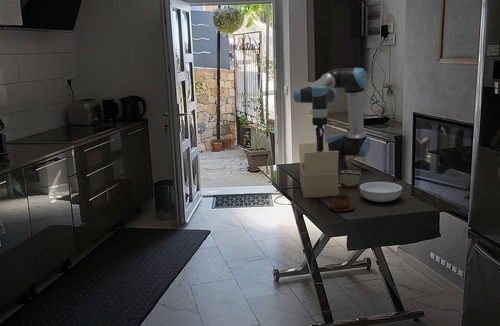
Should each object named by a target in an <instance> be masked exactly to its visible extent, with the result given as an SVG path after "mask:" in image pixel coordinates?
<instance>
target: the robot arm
mask: <svg viewBox="0 0 500 326" xmlns="http://www.w3.org/2000/svg"><path fill="white" fill-rule="evenodd" d="M368 78H369V77H368V74H367V72H366V70H365V69H364V68H363V67H346V68H344V67H343V68H342V67H341V68H334V69H332V70H330V71H327V72H326V73H324V74H322V75H321V77H320V78H318V79H317V80H315V81H314V82H311V83H310V84H309V85H307V86H305V87H304V88H301V87H300V88H296V89H295V90H294V91H293V96H292V97H293V100H294V102H295V103H299V104H312V105H311V106H312V108H311V109H312V110H311V111H310V113H312V115H311V116H312V119H311V120H312V121H311V123H312V125H313V126H316V128H315V136H316V143H317V149H316V151H317V152H323V149H324V148H323V143H324V136H325V135H324V134H325V127H324V126H327V124H328V104H331V103H333V102H335V100H336V99H337V98H338V93H337V90H335V89H344V90H343V92H344V93H345V95H346V96H347V97H346V98H347V100H346V101H347V112H348V113H347V114H348V129H349V131H348V132H349V133H347V134H346V133H335V134H331V135H328V136H327V138H326V143H328V149H329V151H339V154H338V174H339V172H340V171H342V170H350V169H349V167H350V166H349V165H348V164H349V163H348V161H347V159H346V158H347V157H346V156H350V157H366V156H367V155H369V152H370V149H371V139H370V138H369V137H368V136H367V135H368V134H367V133H366V132H365V125H364V108H363V103H364V102H363V93H364V92H365V89H366V88H367V87H368V82H369V81H368V80H369V79H368Z"/></svg>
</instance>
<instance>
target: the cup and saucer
mask: <svg viewBox="0 0 500 326" xmlns="http://www.w3.org/2000/svg"><path fill="white" fill-rule="evenodd" d="M332 201H334V202H332ZM328 202H329V208H330V209H331V210H334V211H336V212H349V211H352V210H354V208H355V206H356V205H355V204H354V203H352V202H351V197H350V195H346V194H338V195H337V196H335V197H330V199H329V200H328ZM348 208H349V209H348ZM345 209H346V210H345Z"/></svg>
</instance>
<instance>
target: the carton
mask: <svg viewBox="0 0 500 326" xmlns="http://www.w3.org/2000/svg"><path fill="white" fill-rule="evenodd" d="M299 185H300V187H301V191H302V195H303V198H305V199H307V198H328V197H327V196H337V195H339V174H338V175H321V176H304V163H300V162H299Z"/></svg>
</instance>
